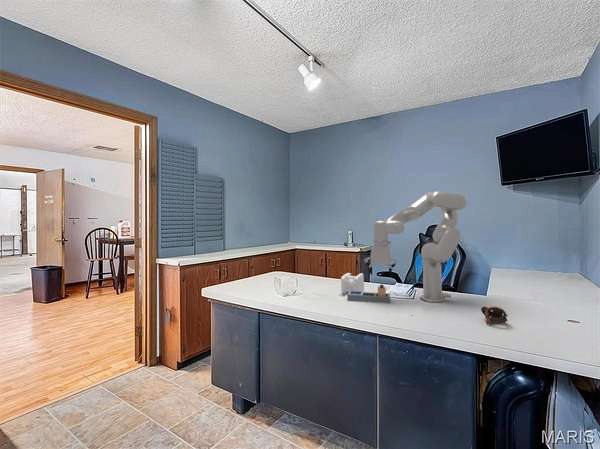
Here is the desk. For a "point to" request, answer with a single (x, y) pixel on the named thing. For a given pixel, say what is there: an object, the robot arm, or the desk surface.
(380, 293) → the plug
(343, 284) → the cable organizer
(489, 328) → the desk surface
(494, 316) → the brown turtle figurine
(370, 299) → the grey compartment tray
